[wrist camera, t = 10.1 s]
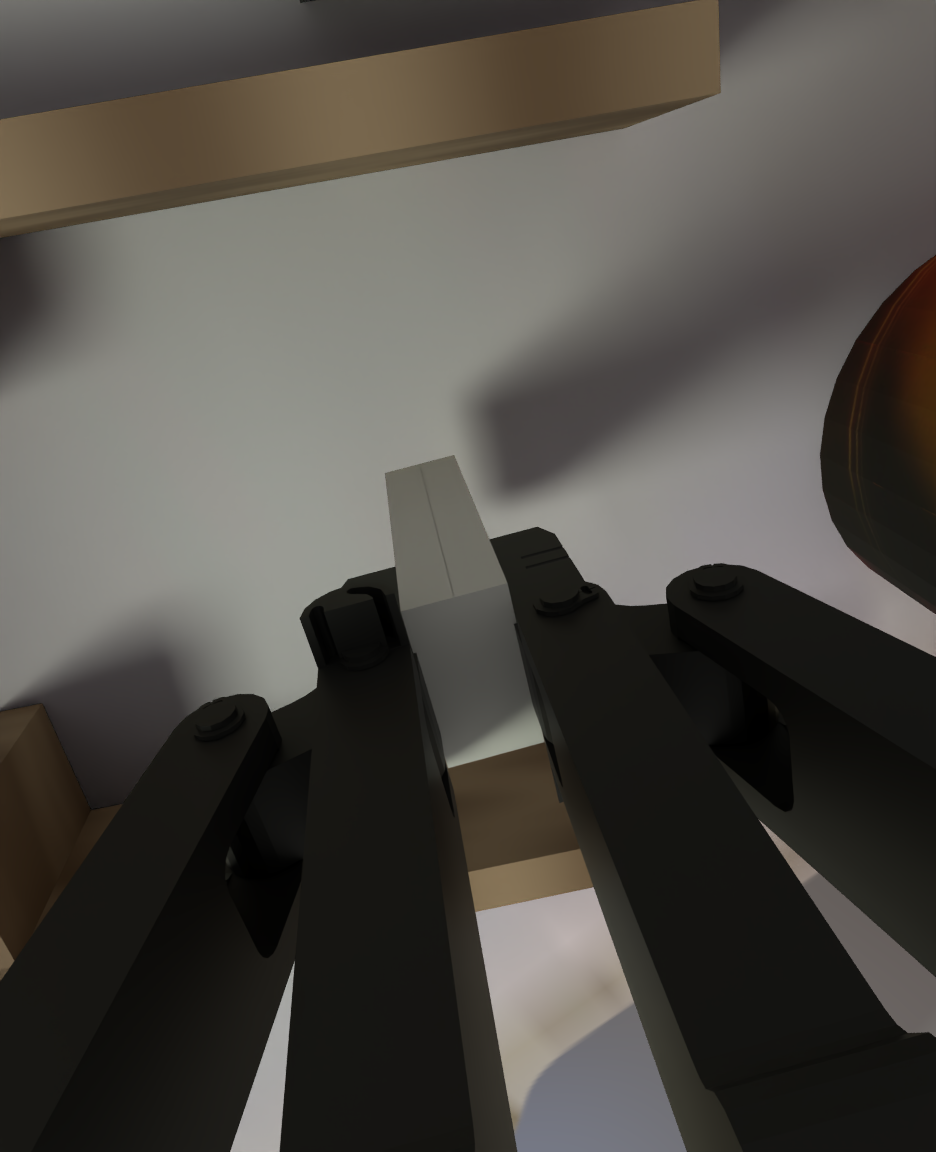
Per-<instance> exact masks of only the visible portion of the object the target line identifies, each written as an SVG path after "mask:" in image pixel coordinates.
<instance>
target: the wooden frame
mask: <svg viewBox="0 0 936 1152" xmlns="http://www.w3.org/2000/svg"><path fill="white" fill-rule="evenodd" d="M719 93H721V88H720V47H719V7H718V0H696V1H690V2H684V3H679V4H673V5H667V6H661V7H655V8H649V9H643V10H638V11H632V12H626V13H620V14H614V15H608V16H603V17H597V18H591V19H585V20H579V21H573V22H567V23H562V24H556V25H550V26H544V27H538V28H532V29H526V30H521V31H515V32H509V33H503V34H497V35H491V36H485V37H480V38H474V39H468V40H462V41H456V42H450V43H445V44H439V45H433V46H427V47H421V48H415V49H409V50H404V51H398V52H392V53H386V54H380V55H374V56H368V57H363V58H357V59H351V60H345V61H339V62H333V63H328V64H322V65H316V66H310V67H304V68H298V69H292V70H287V71H281V72H275V73H269V74H263V75H257V76H251V77H246V78H240V79H234V80H228V81H222V82H216V83H211V84H205V85H199V86H193V87H187V88H181V89H175V90H170V91H164V92H158V93H152V94H146V95H140V96H134V97H129V98H123V99H117V100H111V101H105V102H99V103H94V104H88V105H82V106H76V107H70V108H64V109H58V110H53V111H47V112H41V113H35V114H29V115H23V116H17V117H12V118H6V119H0V238H3V237H9V236H15V235H20V234H26V233H32V232H37V231H43V230H49V229H54V228H60V227H66V226H72V225H77V224H83V223H89V222H94V221H100V220H106V219H111V218H117V217H123V216H128V215H134V214H140V213H145V212H151V211H157V210H162V209H168V208H174V207H179V206H185V205H191V204H197V203H202V202H208V201H214V200H219V199H225V198H231V197H236V196H242V195H248V194H253V193H259V192H265V191H270V190H276V189H282V188H287V187H293V186H299V185H304V184H310V183H316V182H322V181H327V180H333V179H339V178H344V177H350V176H356V175H361V174H367V173H373V172H378V171H384V170H390V169H395V168H401V167H407V166H412V165H418V164H424V163H429V162H435V161H441V160H447V159H452V158H458V157H464V156H469V155H475V154H481V153H486V152H492V151H498V150H503V149H509V148H515V147H520V146H526V145H532V144H537V143H543V142H549V141H554V140H560V139H566V138H571V137H577V136H583V135H589V134H594V133H600V132H606V131H611V130H617V129H623V128H626V127H629V126H632V125H634V124H637V123H640V122H643V121H645V120H648V119H651V118H654V117H656V116H659V115H662V114H664V113H667V112H670V111H673V110H675V109H678V108H681V107H684V106H686V105H689V104H692V103H694V102H697V101H700V100H703V99H705V98H708V97H711V96H714V95H716V94H719ZM542 733H543V732H542ZM543 738H544V736H543ZM444 757H445V756H444ZM445 762H446V760H445ZM446 766H447V763H446ZM447 769H448V772H449V776H450V779H451V782H452V785H453V789H454V794H455V800H456V806H457V811H458V817H459V823H460V828H461V834H462V840H463V845H464V851H465V857H466V863H467V868H468V874H469V880H470V885H471V891H472V897H473V902H474V908H475V912H477V911H482V910H487V909H491V908H496V907H501V906H506V905H511V904H515V903H520V902H525V901H530V900H534V899H539V898H544V897H549V896H554V895H558V894H563V893H568V892H573V891H577V890H582V889H587V888H592V887H593V884H592V881H591V878H590V875H589V872H588V870H587V867H586V864H585V861H584V858H583V855H582V853H581V850H580V847H579V844H578V841H577V838H576V835H575V833H574V830H573V827H572V824H571V821H570V818H569V816H568V813H567V810H566V807H565V804H564V802H561V803H559V800H558V796H557V791H556V787H555V783H554V779H553V774H552V770H551V766H550V761H549V757H548V753H547V748H546V744H545V740H544V742H543V743H539V744H536V745H532V746H528V747H525V748H521V749H517V750H514V751H510V752H506V753H502V754H499V755H495V756H491V757H488V758H484V759H480V760H477V761H473V762H469V763H466V764H462V765H458V766H455V767H451V768H448V766H447ZM122 805H123V804H120V805H115V806H110V807H105V808H100V809H95V810H91V809H90V807H89V805H88V803H87V801H86V798H85V796H84V794H83V792H82V790H81V788H80V785H79V783H78V781H77V779H76V777H75V774H74V772H73V770H72V768H71V766H70V764H69V761H68V759H67V757H66V755H65V753H64V750H63V748H62V746H61V744H60V742H59V740H58V737H57V735H56V733H55V731H54V729H53V727H52V724H51V722H50V720H49V718H48V716H47V713H46V711H45V709H44V707H43V705H42V704H37V705H31V706H26V707H21V708H16V709H11V710H6V711H1V712H0V981H1V980H2V978H3V977H4V975H5V974H6V972H7V971H8V969H9V968H10V967H11V965H12V964H13V962H14V961H15V959H16V958H17V956H18V955H19V954H20V952H21V951H22V949H23V948H24V946H25V945H26V943H27V942H28V940H29V939H30V938H31V936H32V935H33V933H34V932H35V930H36V929H37V927H38V926H39V925H40V923H41V922H42V920H43V919H44V917H45V916H46V914H47V913H48V912H49V910H50V909H51V907H52V906H53V904H54V903H55V901H56V900H57V899H58V897H59V896H60V894H61V893H62V891H63V890H64V888H65V887H66V886H67V884H68V883H69V881H70V880H71V878H72V877H73V875H74V874H75V873H76V871H77V870H78V868H79V867H80V865H81V864H82V862H83V861H84V860H85V858H86V857H87V855H88V854H89V852H90V851H91V849H92V848H93V846H94V845H95V844H96V842H97V841H98V839H99V838H100V836H101V835H102V833H103V832H104V831H105V829H106V828H107V826H108V825H109V823H110V822H111V820H112V819H113V818H114V816H115V815H116V813H117V812H118V810H119V809H120V807H121V806H122Z"/></svg>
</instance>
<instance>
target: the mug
mask: <svg viewBox="0 0 936 1152" xmlns="http://www.w3.org/2000/svg"><path fill="white" fill-rule="evenodd" d="M820 460H821V473H822V487H823V492H824V496H825V499H826V502H827V505H828V509H829V512H830V515H831V519H832V521H833V523H834V525H835V526H836V528H837V530H838V531H839V533H840V535H841V537H842V538H843V540H844V542H845V543H846V545H847V547H848V548H849V549H850V550H851V551H852V552H853V553H854V554H855V555H856V556H857V557H858V558H859V559H860V560H861V561H862V562H863V563H864V564H865V565H866V566H867V567H868V568H870V569H871V570H873V571H874V572H876V573H877V574H878V575H880V576H881V577H883V578H884V579H886V580H887V581H888V582H890V583H891V584H893V585H894V586H896V587H897V588H899V589H900V590H901V591H903V592H904V593H906V594H907V595H909V596H910V597H912V598H913V599H914V600H916V601H917V602H919V603H920V604H922V605H923V606H924V607H926V608H927V609H929V610H930V611H932V612H933V613H935V614H936V255H935V256H934V257H932V258H931V259H930V260H928V261H927V262H926V263H924V264H923V265H921V266H920V267H919V268H917V269H916V270H915V271H914V272H913V273H912V274H911V275H910V276H909V277H908V278H907V279H906V280H905V281H904V282H903V283H902V284H901V285H900V286H899V287H898V288H897V289H896V290H895V291H894V292H893V293H892V294H891V295H890V296H889V297H888V298H887V299H886V300H885V301H884V302H883V303H882V305H881V306H880V307H879V309H878V310H877V312H876V313H875V314H874V316H873V317H872V319H871V320H870V321H869V323H868V324H867V326H866V327H865V328H864V330H863V331H862V332H861V334H860V335H859V337H858V338H857V339H856V341H855V343H854V345H853V347H852V349H851V351H850V353H849V355H848V357H847V359H846V361H845V363H844V365H843V367H842V369H841V371H840V373H839V375H838V377H837V380H836V383H835V386H834V389H833V392H832V396H831V399H830V402H829V405H828V409H827V412H826V415H825V420H824V428H823V436H822V444H821V452H820Z"/></svg>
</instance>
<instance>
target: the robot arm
mask: <svg viewBox="0 0 936 1152" xmlns="http://www.w3.org/2000/svg"><path fill="white" fill-rule="evenodd" d="M385 478H386V486H387V495H388V504H389V513H390V522H391V531H392V539H393V548H394V557H395V566H396V567H392V568H388V569H385V570H381V571H377V572H373V573H370V574H366V575H362V576H358V577H354V578H351V579H348V580H347V581H346V582H345V584H344V585H343V586H342V588H339V589H337V590H334V591H331V592H329V593H327V594H325V595H323V596H321V597H320V598H318V599H316V600H314V601H313V602H312V603H311V604H310V605H309V606H308V607H306V608H305V609H304V611H303V613H302V615H301V617H300V620H301V623H302V626H303V629H304V631H305V634H306V637H307V640H308V642H309V645H310V648H311V650H312V653H313V656H314V659H315V661H316V664H317V667H318V679H317V688H316V689H314V690H313V691H312V692H310V693H309V694H307V695H306V696H304V697H302V698H300V699H299V700H297V701H295V702H293V703H291V704H289V705H287V706H284V707H282V708H280V709H278V710H276V711H274V712H271V711H270V709H269V706H268V704H267V703H266V701H265V699H264V698H262V697H259V696H257V695H254V694H237V695H233V696H229V697H221V698H218V699H215V700H212V701H213V702H208V703H206V704H204V705H202V706H201V707H200V708H199V709H198V710H196V711H195V712H193V713H192V714H190V715H189V716H187V717H186V718H185V719H184V720H183V721H182V722H181V723H180V724H179V725H178V726H177V727H176V728H175V729H174V731H173V732H172V734H171V735H170V737H169V738H168V739H167V741H166V742H165V744H164V745H163V747H162V748H161V750H160V751H159V752H158V754H157V755H156V757H155V758H154V760H153V761H152V763H151V764H150V766H149V767H148V768H147V770H146V771H145V773H144V774H143V776H142V777H141V779H140V780H139V781H138V783H137V784H136V786H135V787H134V789H133V790H132V792H131V793H130V794H129V796H128V797H127V799H126V800H125V802H124V803H123V805H122V806H121V807H120V809H119V810H118V812H117V813H116V815H115V816H114V818H113V819H112V820H111V822H110V823H109V825H108V826H107V828H106V829H105V831H104V832H103V833H102V835H101V836H100V838H99V839H98V841H97V842H96V844H95V845H94V846H93V848H92V849H91V851H90V852H89V854H88V855H87V857H86V858H85V860H84V861H83V862H82V864H81V865H80V867H79V868H78V870H77V871H76V873H75V874H74V875H73V877H72V878H71V880H70V881H69V883H68V884H67V886H66V887H65V888H64V890H63V891H62V893H61V894H60V896H59V897H58V899H57V900H56V901H55V903H54V904H53V906H52V907H51V909H50V910H49V912H48V913H47V914H46V916H45V917H44V919H43V920H42V922H41V923H40V925H39V926H38V927H37V929H36V930H35V932H34V933H33V935H32V936H31V938H30V939H29V940H28V942H27V943H26V945H25V946H24V948H23V949H22V951H21V952H20V954H19V955H18V956H17V958H16V959H15V961H14V962H13V964H12V965H11V967H10V968H9V969H8V971H7V972H6V974H5V975H4V977H3V978H2V980H1V981H0V1152H230V1150H231V1147H232V1144H233V1141H234V1138H235V1135H236V1132H237V1129H238V1127H239V1124H240V1121H241V1118H242V1115H243V1112H244V1109H245V1106H246V1103H247V1100H248V1097H249V1094H250V1091H251V1088H252V1085H253V1082H254V1079H255V1076H256V1073H257V1070H258V1067H259V1064H260V1061H261V1058H262V1056H263V1053H264V1050H265V1047H266V1044H267V1041H268V1038H269V1035H270V1032H271V1029H272V1026H273V1023H274V1020H275V1017H276V1014H277V1011H278V1008H279V1005H280V1002H281V999H282V996H283V993H284V990H285V987H286V984H287V982H288V979H289V976H290V973H291V970H292V967H293V964H294V961H295V967H294V979H293V992H292V1004H291V1017H290V1029H289V1042H288V1054H287V1067H286V1079H285V1092H284V1104H283V1117H282V1129H281V1142H280V1152H517V1147H516V1142H515V1136H514V1130H513V1124H512V1119H511V1113H510V1107H509V1102H508V1096H507V1090H506V1085H505V1079H504V1073H503V1068H502V1062H501V1056H500V1050H499V1045H498V1039H497V1033H496V1028H495V1022H494V1016H493V1011H492V1005H491V999H490V993H489V988H488V982H487V976H486V971H485V965H484V959H483V954H482V948H481V942H480V937H479V931H478V925H477V919H476V914H475V908H474V902H473V897H472V891H471V885H470V880H469V874H468V868H467V863H466V857H465V851H464V845H463V840H462V834H461V828H460V823H459V817H458V811H457V806H456V800H455V794H454V789H453V785H452V782H451V779H450V776H449V772H448V769H447V766H448V768H451V767H455V766H458V765H462V764H466V763H469V762H473V761H477V760H480V759H484V758H488V757H491V756H495V755H499V754H502V753H506V752H510V751H514V750H517V749H521V748H525V747H528V746H532V745H536V744H539V743H543V742H544V740H545V744H546V748H547V753H548V757H549V761H550V766H551V770H552V774H553V779H554V783H555V787H556V791H557V796H558V800H559V803H561V802H564V804H565V807H566V810H567V813H568V816H569V818H570V821H571V824H572V827H573V830H574V833H575V835H576V838H577V841H578V844H579V847H580V850H581V853H582V855H583V858H584V861H585V864H586V867H587V870H588V872H589V875H590V878H591V881H592V884H593V887H594V889H595V892H596V895H597V898H598V901H599V904H600V906H601V909H602V912H603V915H604V918H605V921H606V923H607V926H608V929H609V932H610V935H611V938H612V940H613V943H614V946H615V949H616V952H617V955H618V958H619V960H620V963H621V966H622V969H623V972H624V975H625V977H626V980H627V983H628V986H629V989H630V992H631V994H632V997H633V1000H634V1003H635V1006H636V1009H637V1011H638V1014H639V1017H640V1020H641V1023H642V1025H643V1028H644V1031H645V1034H646V1037H647V1040H648V1043H649V1045H650V1048H651V1051H652V1054H653V1057H654V1060H655V1062H656V1065H657V1068H658V1071H659V1074H660V1077H661V1079H662V1082H663V1085H664V1088H665V1091H666V1094H667V1096H668V1099H669V1102H670V1105H671V1108H672V1111H673V1114H674V1116H675V1119H676V1122H677V1125H678V1128H679V1131H680V1133H681V1136H682V1139H683V1142H684V1144H685V1148H686V1150H687V1152H936V1037H934V1036H933V1035H932V1034H930V1033H929V1032H927V1033H926V1032H925V1033H907V1032H906V1031H905V1030H903V1029H902V1028H901V1027H900V1026H898V1025H897V1024H896V1023H895V1021H894V1020H893V1019H892V1018H891V1016H890V1015H889V1014H888V1012H887V1011H886V1010H885V1008H884V1007H883V1005H882V1004H881V1002H880V1001H879V1000H878V998H877V996H876V995H875V994H874V992H873V990H872V989H871V987H870V986H869V985H868V983H867V982H866V980H865V978H864V977H863V976H862V974H861V972H860V971H859V969H858V968H857V966H856V965H855V964H854V962H853V961H852V959H851V957H850V956H849V955H848V953H847V951H846V950H845V949H844V947H843V946H842V944H841V943H840V941H839V940H838V938H837V937H836V935H835V934H834V932H833V931H832V929H831V928H830V926H829V925H828V923H827V922H826V920H825V919H824V917H823V916H822V914H821V913H820V911H819V910H818V908H817V907H816V905H815V904H814V902H813V901H812V899H811V898H810V896H809V895H808V893H807V892H806V890H805V889H804V887H803V886H802V884H801V883H800V881H799V880H798V878H797V877H796V875H795V874H794V872H793V871H792V869H791V868H790V866H789V865H788V863H787V862H786V860H785V859H784V857H783V856H782V854H781V853H780V851H779V850H778V848H777V847H776V845H775V844H774V842H773V841H772V839H771V838H770V836H769V835H768V833H767V832H766V830H765V829H764V827H763V826H762V824H761V823H760V821H761V822H762V823H763V824H765V825H766V826H767V827H768V828H769V829H770V830H771V831H772V832H774V833H775V834H776V835H777V836H778V837H779V838H780V839H781V840H783V841H784V842H785V843H786V844H787V845H788V846H789V847H790V848H792V849H793V850H794V851H795V852H796V853H797V854H798V855H799V856H800V857H802V858H803V859H804V860H805V861H806V862H807V863H808V864H809V865H811V866H812V867H813V868H814V869H815V870H816V871H817V872H818V873H820V874H821V875H822V876H823V877H824V878H825V879H826V880H828V881H829V882H830V883H831V884H832V885H833V886H834V887H835V888H837V890H839V891H840V892H841V893H842V894H843V895H844V896H845V897H846V898H848V899H849V900H850V901H851V902H852V903H853V904H854V905H855V906H857V907H858V908H859V909H860V910H861V911H862V912H863V913H865V914H866V915H867V916H868V917H869V918H870V919H871V920H872V921H873V922H874V923H876V924H877V925H878V926H879V927H880V928H881V929H882V930H883V931H885V932H886V933H887V934H888V935H889V936H890V937H891V938H892V939H894V940H895V941H896V942H897V943H898V944H899V945H900V946H901V947H902V948H904V949H905V950H906V951H907V952H908V953H909V954H910V955H912V956H913V957H914V958H915V959H916V960H917V961H918V962H919V963H920V964H922V965H923V966H924V967H925V968H926V969H927V970H928V971H929V972H930V973H932V974H933V975H934V976H935V977H936V657H934V656H932V655H930V654H928V653H926V652H924V651H922V650H920V649H918V648H916V647H914V646H912V645H910V644H908V643H906V642H904V641H901V640H899V639H897V638H895V637H893V636H891V635H889V634H887V633H885V632H883V631H881V630H879V629H877V628H875V627H873V626H871V625H869V624H866V623H864V622H862V621H860V620H858V619H856V618H854V617H852V616H850V615H848V614H846V613H844V612H842V611H840V610H838V609H836V608H834V607H831V606H829V605H827V604H825V603H823V602H821V601H819V600H817V599H815V598H813V597H811V596H809V595H807V594H805V593H803V592H801V591H799V590H797V589H794V588H792V587H790V586H788V585H786V584H784V583H782V582H780V581H778V580H776V579H774V578H772V577H770V576H768V575H766V574H764V573H762V572H759V571H757V570H754V569H751V568H748V567H745V566H740V565H727V564H723V563H720V564H714V565H711V564H709V565H704V566H700V567H699V568H696V569H693V570H689V571H686V572H685V573H683V574H681V575H679V576H677V577H676V578H674V579H673V580H672V581H671V582H670V584H669V585H668V586H667V587H666V599H667V604H657V605H646V606H624V605H616V604H614V602H613V601H612V599H611V598H610V596H609V595H608V593H607V592H606V591H605V590H604V589H603V588H601V587H600V586H599V585H597V584H593V583H589V582H585V581H584V579H583V578H582V576H581V574H580V573H579V571H578V570H577V568H576V567H575V565H574V563H573V562H572V560H571V559H570V558H569V556H568V554H567V552H566V551H565V549H564V548H563V547H562V544H561V543H560V541H559V540H558V538H557V537H556V535H555V534H554V533H551V532H549V531H546V530H544V529H541V528H539V527H535V528H531V529H527V530H523V531H520V532H516V533H512V534H508V535H504V536H501V537H497V538H493V539H489V538H488V535H487V533H486V531H485V528H484V526H483V523H482V521H481V519H480V516H479V514H478V511H477V509H476V507H475V504H474V502H473V499H472V497H471V495H470V492H469V490H468V487H467V485H466V483H465V480H464V478H463V475H462V473H461V471H460V468H459V466H458V463H457V461H456V459H455V456H454V455H452V456H449V457H445V458H441V459H437V460H433V461H430V462H426V463H422V464H418V465H414V466H410V467H407V468H403V469H399V470H395V471H391V472H388V473H385ZM542 732H543V733H542ZM543 736H544V738H543ZM444 756H445V757H444ZM445 760H446V762H445ZM446 763H447V766H446ZM758 819H759V820H760V821H759V820H758Z"/></svg>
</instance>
